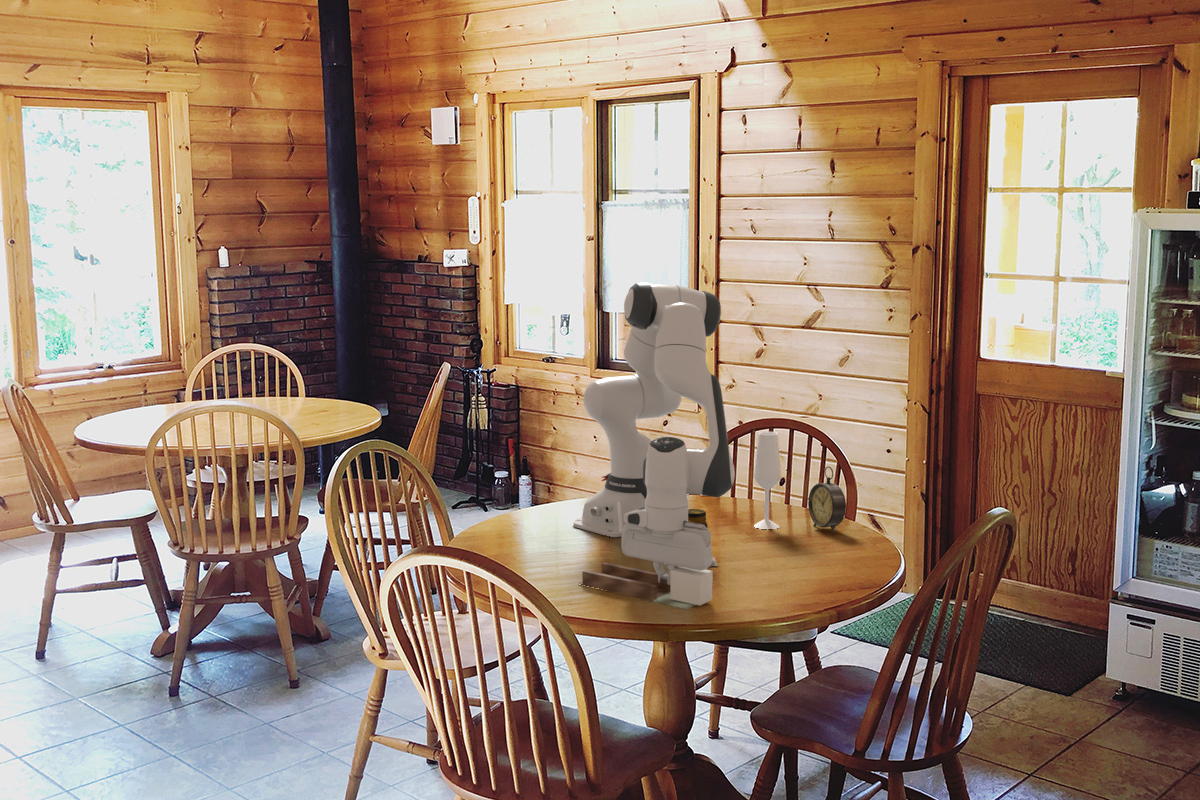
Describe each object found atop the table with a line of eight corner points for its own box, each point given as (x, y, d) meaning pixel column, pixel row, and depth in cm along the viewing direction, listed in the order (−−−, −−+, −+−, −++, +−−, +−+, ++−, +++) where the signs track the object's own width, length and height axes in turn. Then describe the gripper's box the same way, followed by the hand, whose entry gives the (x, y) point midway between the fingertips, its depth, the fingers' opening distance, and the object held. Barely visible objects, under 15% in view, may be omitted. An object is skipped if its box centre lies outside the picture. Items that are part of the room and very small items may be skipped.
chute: (578, 585, 250) (578, 570, 250) (601, 575, 257) (601, 561, 257) (687, 609, 235) (687, 593, 234) (708, 598, 242) (708, 583, 241)
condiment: (678, 558, 271) (678, 507, 269) (715, 558, 271) (715, 507, 269) (680, 567, 263) (680, 515, 262) (717, 567, 263) (718, 515, 261)
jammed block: (670, 599, 239) (670, 570, 238) (682, 593, 243) (683, 564, 242) (700, 605, 235) (700, 576, 234) (712, 599, 239) (712, 570, 238)
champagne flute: (749, 528, 296) (751, 434, 292) (756, 522, 302) (758, 430, 298) (776, 531, 293) (778, 436, 290) (782, 524, 300) (784, 431, 296)
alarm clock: (806, 525, 298) (807, 463, 296) (824, 523, 301) (826, 461, 298) (831, 536, 289) (832, 471, 286) (849, 534, 291) (851, 469, 288)
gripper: (718, 522, 236) (717, 588, 239) (634, 507, 248) (634, 571, 250) (702, 528, 231) (701, 596, 233) (617, 513, 243) (617, 578, 245)
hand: (665, 583), depth 242 cm, fingers closed
